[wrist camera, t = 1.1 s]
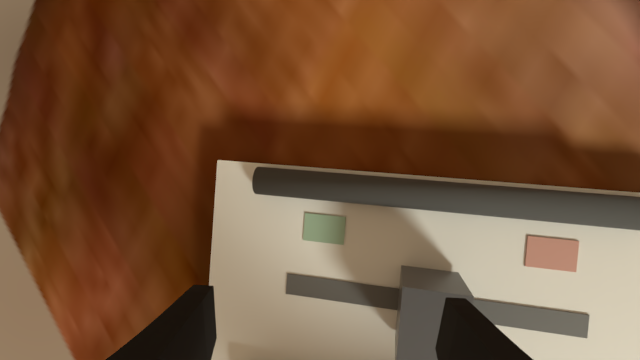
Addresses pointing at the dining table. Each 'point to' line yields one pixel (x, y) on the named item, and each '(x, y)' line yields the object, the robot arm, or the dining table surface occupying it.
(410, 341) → the block
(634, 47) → the dining table surface
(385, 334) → the panel
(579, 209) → the dark grey guard rails
